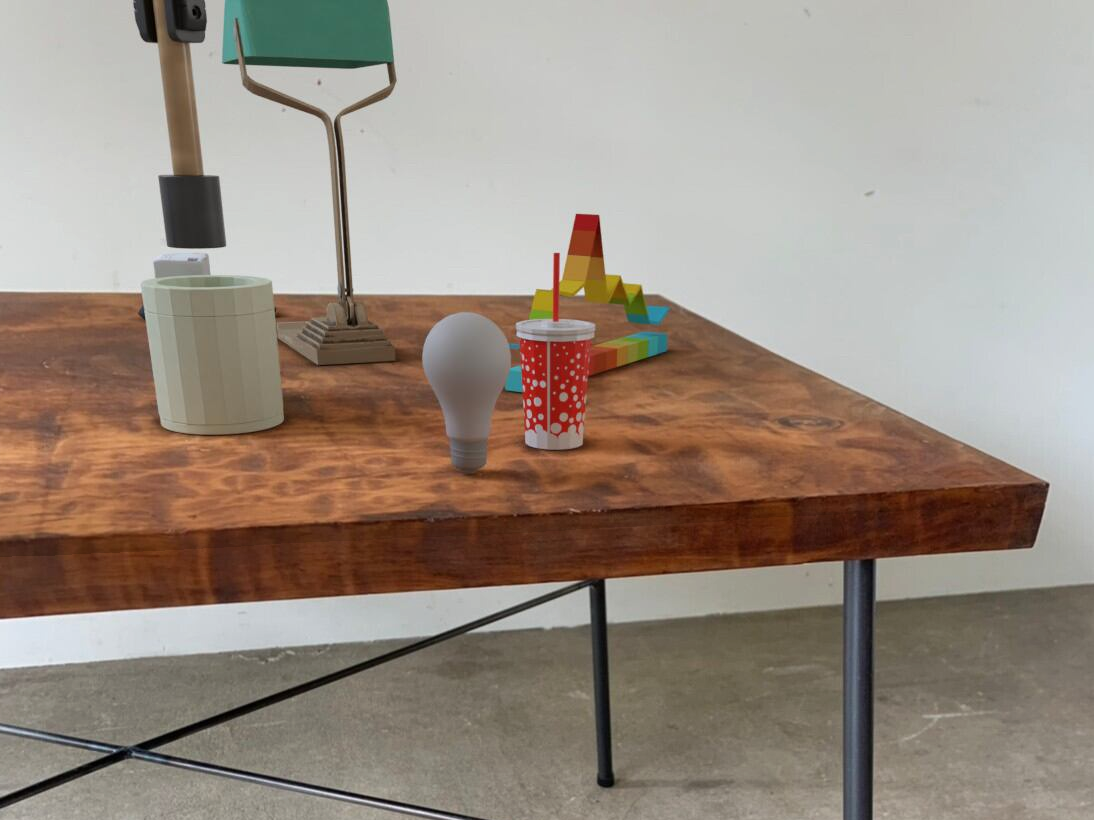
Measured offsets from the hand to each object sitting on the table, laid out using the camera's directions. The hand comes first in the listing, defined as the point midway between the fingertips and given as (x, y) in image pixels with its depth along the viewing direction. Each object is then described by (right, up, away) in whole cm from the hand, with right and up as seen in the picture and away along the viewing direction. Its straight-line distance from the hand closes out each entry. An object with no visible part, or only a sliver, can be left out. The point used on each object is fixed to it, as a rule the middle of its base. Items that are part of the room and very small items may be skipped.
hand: (173, 41), depth 68 cm
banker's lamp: (-3, +3, +64) cm, 64 cm away
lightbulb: (+16, -22, +16) cm, 31 cm away
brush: (0, -10, +5) cm, 11 cm away
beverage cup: (+22, -17, +25) cm, 37 cm away
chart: (+26, -2, +54) cm, 61 cm away
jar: (-6, -14, +30) cm, 33 cm away
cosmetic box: (-10, -10, +38) cm, 40 cm away
